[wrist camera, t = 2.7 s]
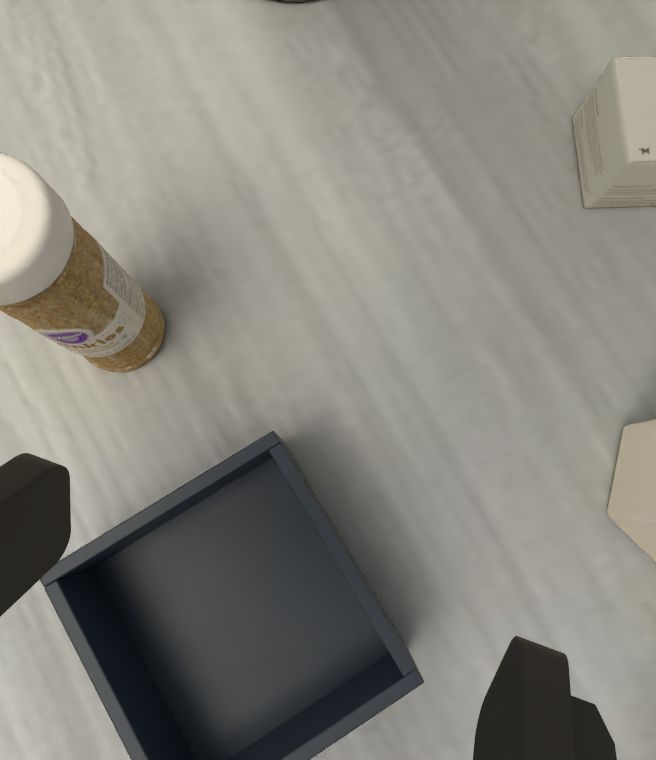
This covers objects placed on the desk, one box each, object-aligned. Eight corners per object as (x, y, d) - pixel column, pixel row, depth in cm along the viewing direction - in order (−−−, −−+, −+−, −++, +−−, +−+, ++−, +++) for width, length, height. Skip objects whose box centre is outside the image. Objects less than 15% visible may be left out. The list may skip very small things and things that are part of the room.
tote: (84, 560, 29) (36, 574, 24) (282, 439, 30) (273, 430, 25) (202, 786, 27) (176, 850, 22) (408, 649, 28) (424, 682, 23)
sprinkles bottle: (91, 384, 30) (-92, 306, 17) (71, 303, 31) (-119, 167, 18) (178, 358, 31) (63, 261, 17) (155, 278, 31) (30, 126, 18)
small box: (686, 207, 32) (749, 157, 27) (581, 211, 32) (625, 163, 27) (671, 112, 33) (729, 48, 28) (568, 116, 33) (610, 52, 28)
